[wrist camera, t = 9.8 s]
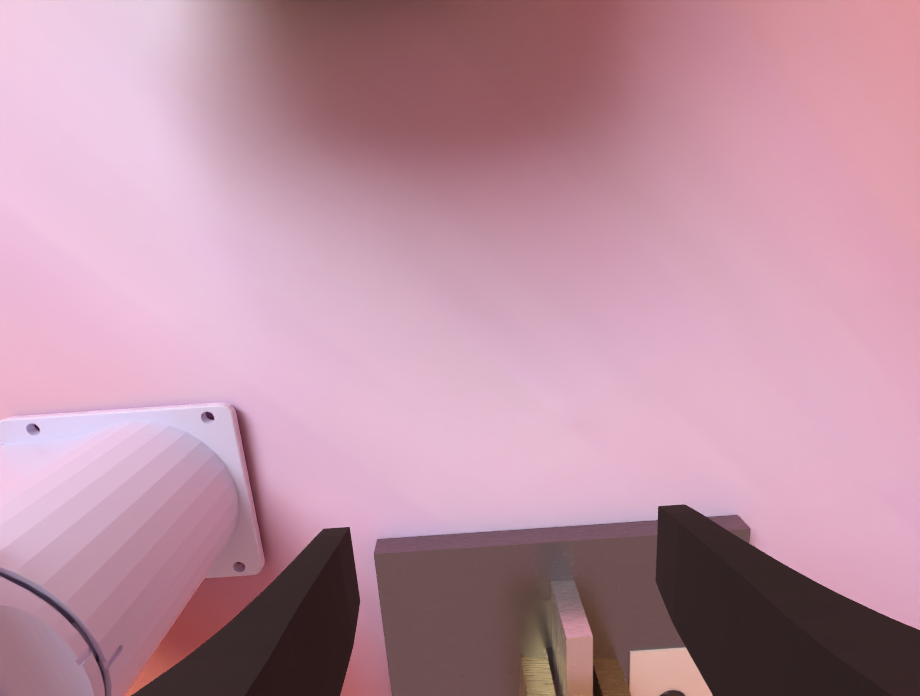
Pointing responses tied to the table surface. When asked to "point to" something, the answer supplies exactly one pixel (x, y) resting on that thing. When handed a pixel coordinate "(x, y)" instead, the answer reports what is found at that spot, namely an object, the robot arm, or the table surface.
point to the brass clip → (538, 681)
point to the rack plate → (531, 610)
